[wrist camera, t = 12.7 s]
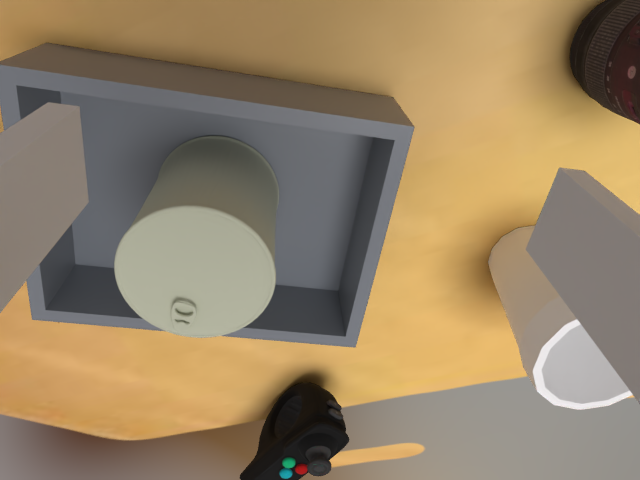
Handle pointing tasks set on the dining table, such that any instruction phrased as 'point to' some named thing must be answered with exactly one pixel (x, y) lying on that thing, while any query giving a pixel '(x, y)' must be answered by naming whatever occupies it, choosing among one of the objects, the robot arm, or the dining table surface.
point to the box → (234, 122)
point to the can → (203, 241)
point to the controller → (299, 436)
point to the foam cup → (550, 332)
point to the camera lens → (610, 56)
